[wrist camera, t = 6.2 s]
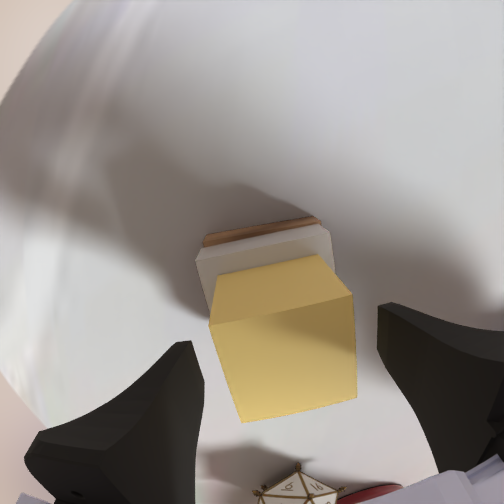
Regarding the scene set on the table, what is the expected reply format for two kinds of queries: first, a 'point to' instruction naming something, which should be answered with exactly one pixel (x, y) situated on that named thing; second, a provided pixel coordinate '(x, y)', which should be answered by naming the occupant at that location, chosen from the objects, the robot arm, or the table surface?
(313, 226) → the tower top slab
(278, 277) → the mustard cube
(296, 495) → the game die
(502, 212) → the table surface
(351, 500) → the canister
